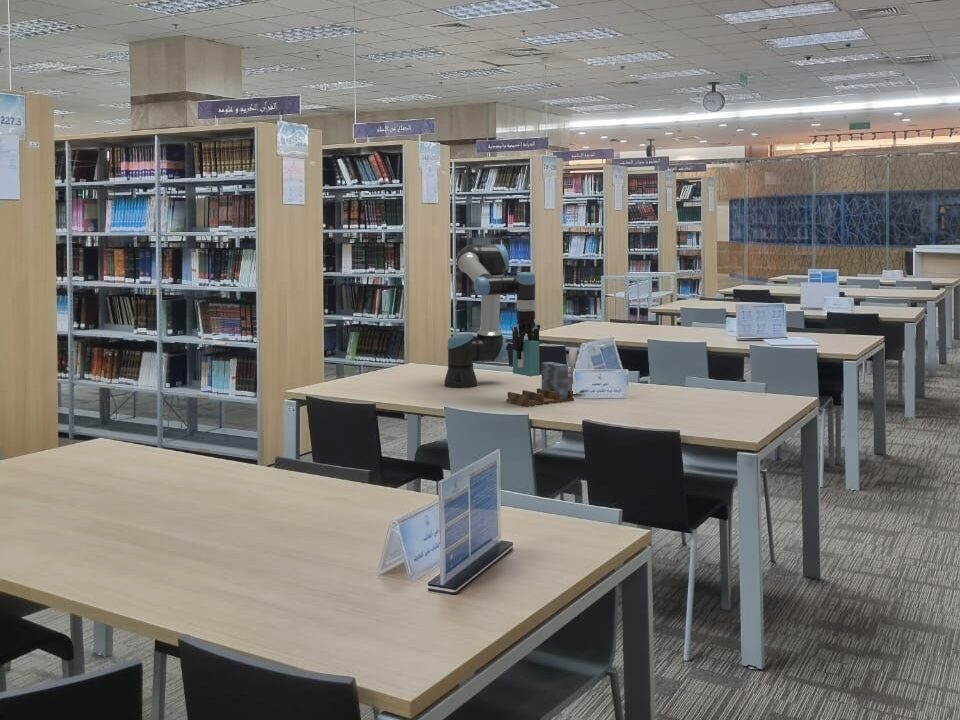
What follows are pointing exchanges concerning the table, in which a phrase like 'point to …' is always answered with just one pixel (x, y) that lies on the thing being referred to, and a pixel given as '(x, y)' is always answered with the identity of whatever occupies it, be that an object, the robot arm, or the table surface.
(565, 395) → the rack
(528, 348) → the book block
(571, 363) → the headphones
